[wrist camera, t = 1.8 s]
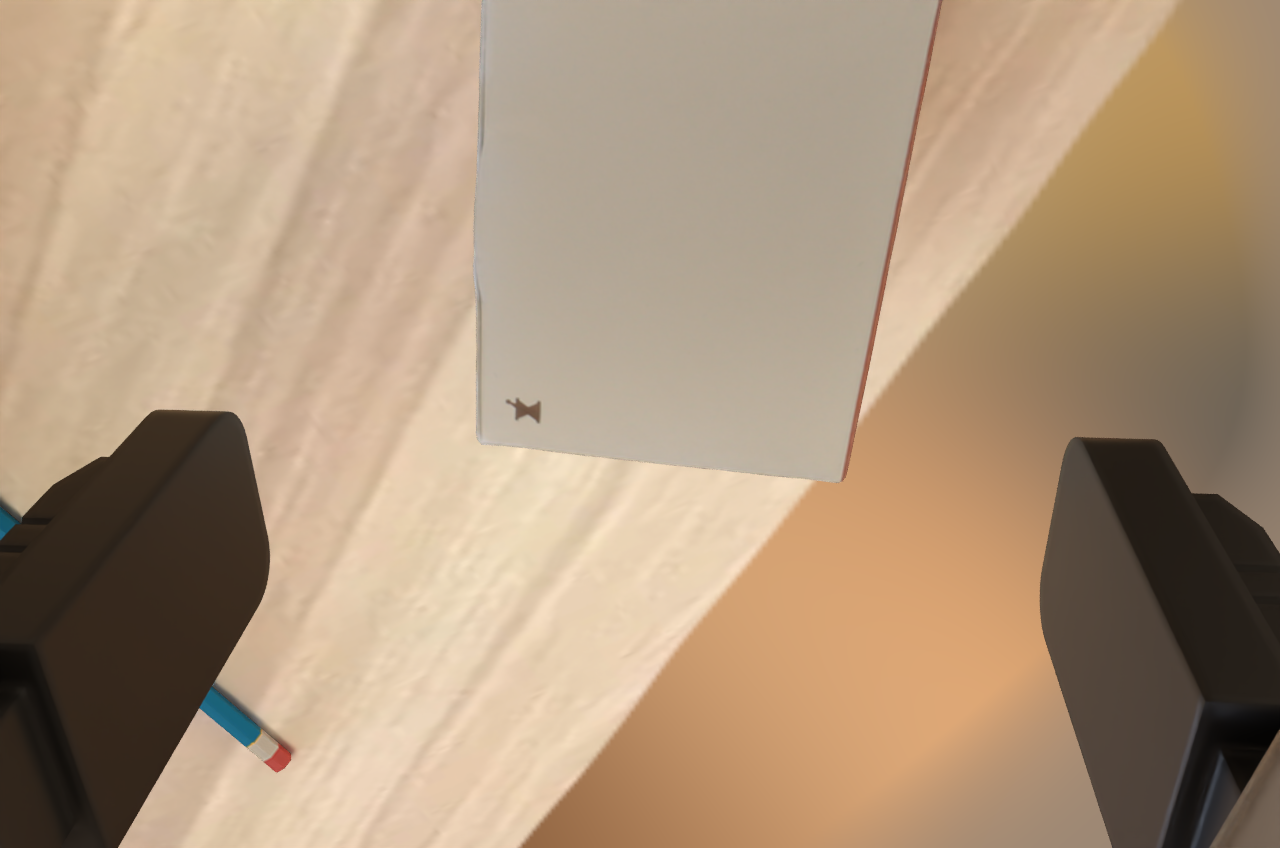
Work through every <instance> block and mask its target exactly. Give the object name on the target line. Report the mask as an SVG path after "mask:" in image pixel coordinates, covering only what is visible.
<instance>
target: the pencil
mask: <svg viewBox="0 0 1280 848" xmlns="http://www.w3.org/2000/svg"><path fill="white" fill-rule="evenodd" d="M15 524H20V523H19V522H18V521H17V520H16V519H14V518H13V517H12V516H11V515H10V514H9V513H7V512H6V511H5V510H4V509H3V508H2V507H0V540H1V539H2V538H3V537H4V536H5V535H6V534H7V532H8V531H9V530H10V529H11V528H12V527H13V526H14V525H15ZM199 708H200V709H201V710H202V711H204V712H205V713H206V714H207V715H208V716H210V717H211V718H212V719H213V720H214V721H215V722H217V723H218V724H219V725H220V726H221V727H223V728H224V729H225V730H226V731H227V732H229V733H230V734H231V735H232V736H233V737H235V738H236V739H237V740H238V741H239V742H241V743H242V744H243V745H244V746H245V747H246V748H248V749H249V750H250V751H251V752H252V753H254V754H255V755H256V756H257V757H258V758H260V759H261V760H262V761H263V762H264V763H266V764H267V765H268V766H269V767H270V768H272V769H273V770H274V771H275V772H279V771H281V770H283V769H284V768H285V767H286V766H287V765H288V763H289V762H290V761H291V753H289V752H288V751H287V750H286V749H285V748H284V747H282V746H281V745H280V744H279V743H278V742H276V741H275V740H274V739H273V738H272V737H271V736H269V735H268V734H267V733H266V732H265V731H264V730H262V729H261V728H260V727H259V726H258V725H256V724H255V723H254V722H253V721H252V720H251V719H249V718H248V717H247V716H246V715H245V714H244V713H242V712H241V711H240V710H239V709H238V708H237V707H235V706H234V705H233V704H232V703H231V702H229V701H228V700H227V699H226V698H225V697H224V696H222V695H221V694H220V693H219V692H218V691H217V690H215V689H214V688H213V687H211V689H210V690H209V692H208V694H207V695H206V697H205V699H204V701H203V702H202V704H201V706H200V707H199Z"/></svg>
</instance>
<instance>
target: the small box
mask: <svg viewBox="0 0 1280 848" xmlns="http://www.w3.org/2000/svg"><path fill="white" fill-rule="evenodd" d="M941 4H942V0H482V10H481V39H480V72H479V112H478V145H477V178H476V191H475V204H474V263H473V270H474V284H475V295H476V342H477V352H476V434H477V439H478V441H479V442H480V443H481V444H482V445H496V446H509V447H520V448H528V449H536V450H543V451H551V452H559V453H568V454H576V455H584V456H593V457H602V458H611V459H620V460H629V461H638V462H647V463H656V464H665V465H674V466H685V467H694V468H703V469H716V470H724V471H732V472H741V473H750V474H759V475H768V476H778V477H788V478H801V479H810V480H818V481H825V482H834V483H839V482H842V481H843V480H844V478H845V477H846V474H847V470H848V466H849V461H850V456H851V452H852V447H853V442H854V437H855V432H856V427H857V422H858V418H859V413H860V408H861V403H862V399H863V394H864V389H865V384H866V380H867V375H868V370H869V365H870V360H871V355H872V350H873V346H874V340H875V335H876V330H877V325H878V320H879V315H880V310H881V305H882V300H883V295H884V290H885V285H886V280H887V275H888V270H889V264H890V259H891V255H892V250H893V245H894V241H895V236H896V232H897V227H898V222H899V216H900V211H901V206H902V201H903V196H904V191H905V186H906V181H907V175H908V169H909V165H910V160H911V155H912V150H913V145H914V140H915V134H916V129H917V124H918V119H919V114H920V110H921V105H922V100H923V96H924V91H925V86H926V81H927V76H928V71H929V66H930V61H931V55H932V50H933V45H934V40H935V35H936V29H937V24H938V19H939V14H940V9H941Z"/></svg>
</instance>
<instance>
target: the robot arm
mask: <svg viewBox="0 0 1280 848" xmlns="http://www.w3.org/2000/svg"><path fill="white" fill-rule="evenodd" d="M269 565H270V549H269V541H268V535H267V530H266V526H265V521H264V516H263V512H262V507H261V502H260V497H259V493H258V488H257V483H256V479H255V474H254V469H253V464H252V460H251V455H250V450H249V446H248V441H247V436H246V433H245V429H244V427H243V424H242V422H241V421H240V419H239V418H238V417H237V415H235V414H234V413H232V412H224V411H188V410H155V411H153V412H151V413H150V414H149V415H148V416H147V417H146V418H145V419H144V420H143V421H142V422H141V423H140V424H139V425H138V426H137V427H136V429H135V430H134V431H133V432H132V433H131V434H130V435H129V436H128V437H127V438H126V439H125V441H124V442H123V443H122V444H121V445H120V446H119V447H118V448H117V449H116V450H115V451H114V453H113V454H112V455H111V456H110V457H100V458H98V459H96V460H95V461H93V462H91V463H89V464H88V465H86V466H84V467H83V468H81V469H79V470H77V471H76V472H74V473H72V474H71V475H69V476H67V477H66V478H64V479H62V480H60V481H59V482H57V483H55V484H54V485H53V486H52V487H51V488H50V489H49V490H48V491H47V492H46V493H45V494H44V495H43V496H42V497H41V498H40V499H39V500H38V501H37V502H36V503H35V504H34V505H33V506H32V507H31V508H30V510H29V511H28V512H27V513H26V514H25V515H24V516H23V517H22V524H15V525H14V526H13V527H12V528H11V529H10V530H9V531H8V532H7V534H6V535H5V536H4V537H3V538H2V539H1V540H0V848H118V847H119V845H120V843H121V841H122V840H123V838H124V836H125V835H126V833H127V831H128V829H129V828H130V826H131V824H132V823H133V821H134V819H135V817H136V816H137V814H138V812H139V811H140V809H141V807H142V805H143V804H144V802H145V800H146V799H147V797H148V795H149V793H150V792H151V790H152V788H153V787H154V785H155V783H156V781H157V780H158V778H159V776H160V774H161V773H162V771H163V769H164V768H165V766H166V764H167V762H168V761H169V759H170V757H171V756H172V754H173V752H174V750H175V749H176V747H177V745H178V744H179V742H180V740H181V738H182V737H183V735H184V733H185V732H186V730H187V728H188V726H189V725H190V723H191V721H192V720H193V718H194V716H195V714H196V713H197V711H198V709H199V707H200V706H201V704H202V702H203V701H204V699H205V697H206V695H207V694H208V692H209V690H210V689H211V687H212V685H213V683H214V682H215V680H216V678H217V677H218V675H219V673H220V671H221V670H222V668H223V666H224V665H225V663H226V661H227V659H228V658H229V656H230V654H231V653H232V651H233V649H234V647H235V646H236V644H237V642H238V641H239V639H240V637H241V635H242V634H243V632H244V630H245V628H246V627H247V625H248V623H249V622H250V620H251V618H252V616H253V615H254V613H255V611H256V610H257V608H258V606H259V604H260V602H261V600H262V598H263V595H264V593H265V589H266V585H267V581H268V575H269ZM1040 613H1041V623H1042V629H1043V634H1044V638H1045V641H1046V645H1047V648H1048V651H1049V654H1050V656H1051V660H1052V663H1053V666H1054V669H1055V672H1056V675H1057V678H1058V682H1059V685H1060V688H1061V691H1062V694H1063V697H1064V700H1065V703H1066V706H1067V709H1068V712H1069V715H1070V718H1071V722H1072V725H1073V728H1074V731H1075V734H1076V737H1077V740H1078V743H1079V746H1080V749H1081V752H1082V755H1083V758H1084V762H1085V765H1086V768H1087V771H1088V774H1089V777H1090V780H1091V783H1092V786H1093V789H1094V792H1095V796H1096V798H1097V802H1098V805H1099V808H1100V811H1101V814H1102V817H1103V820H1104V823H1105V826H1106V829H1107V832H1108V836H1109V838H1110V841H1111V845H1112V848H1280V553H1279V552H1278V550H1277V549H1276V547H1275V546H1274V544H1273V542H1272V541H1271V539H1270V538H1269V536H1268V535H1267V533H1266V532H1265V530H1264V529H1263V528H1262V527H1261V526H1260V525H1259V524H1257V523H1256V522H1255V521H1253V520H1251V519H1250V518H1249V517H1248V516H1246V515H1245V514H1244V513H1242V512H1241V511H1240V510H1238V509H1237V508H1236V507H1234V506H1233V505H1232V504H1230V503H1229V502H1228V501H1226V500H1225V499H1224V498H1222V497H1221V496H1219V495H1218V494H1194V493H1191V492H1190V490H1189V488H1188V486H1187V485H1186V483H1185V481H1184V480H1183V478H1182V476H1181V475H1180V473H1179V471H1178V469H1177V468H1176V466H1175V464H1174V463H1173V461H1172V459H1171V458H1170V456H1169V454H1168V452H1167V451H1166V449H1165V447H1164V446H1163V444H1162V443H1161V442H1159V441H1158V440H1154V439H1119V438H1083V437H1075V438H1073V439H1072V440H1071V441H1070V442H1069V444H1068V446H1067V448H1066V451H1065V454H1064V458H1063V462H1062V467H1061V472H1060V477H1059V483H1058V488H1057V493H1056V498H1055V504H1054V509H1053V514H1052V519H1051V525H1050V530H1049V535H1048V541H1047V546H1046V551H1045V556H1044V562H1043V567H1042V573H1041V582H1040Z"/></svg>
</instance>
